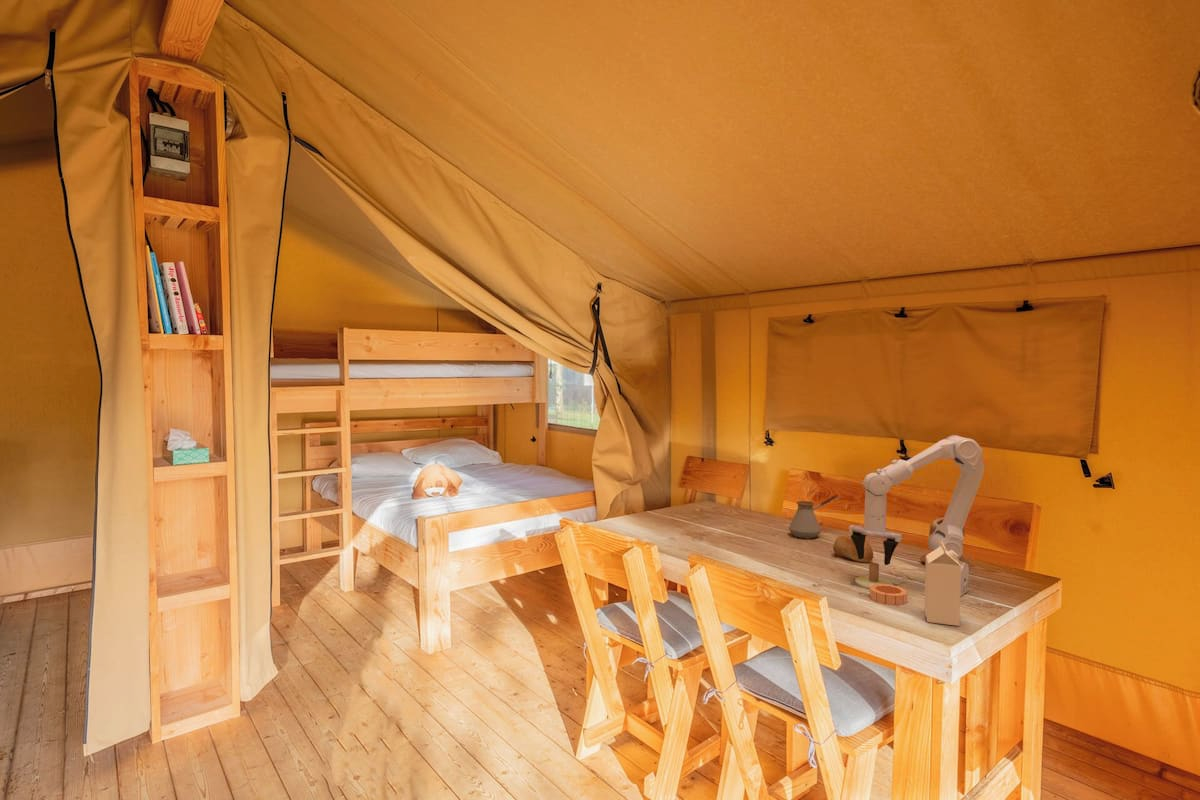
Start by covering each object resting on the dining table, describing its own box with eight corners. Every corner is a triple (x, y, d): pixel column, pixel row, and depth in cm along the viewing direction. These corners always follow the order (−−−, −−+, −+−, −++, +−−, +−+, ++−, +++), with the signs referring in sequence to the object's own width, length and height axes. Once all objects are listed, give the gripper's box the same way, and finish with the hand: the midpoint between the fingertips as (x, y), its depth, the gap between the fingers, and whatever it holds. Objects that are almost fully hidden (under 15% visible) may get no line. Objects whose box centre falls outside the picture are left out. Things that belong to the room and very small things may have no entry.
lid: (898, 584, 191) (898, 564, 190) (883, 592, 184) (883, 571, 183) (864, 576, 198) (864, 557, 198) (849, 584, 191) (849, 563, 191)
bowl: (912, 600, 179) (912, 589, 178) (898, 609, 172) (898, 597, 172) (878, 592, 185) (878, 581, 185) (863, 600, 179) (864, 589, 179)
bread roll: (858, 567, 209) (858, 542, 209) (824, 554, 223) (825, 531, 223) (880, 563, 213) (881, 539, 213) (846, 551, 227) (847, 529, 227)
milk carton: (927, 622, 163) (929, 547, 162) (924, 612, 170) (926, 540, 169) (959, 626, 161) (961, 550, 160) (955, 616, 167) (957, 542, 166)
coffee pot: (801, 541, 240) (802, 500, 240) (782, 534, 251) (783, 495, 250) (848, 536, 248) (849, 497, 247) (828, 529, 258) (829, 491, 258)
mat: (898, 586, 191) (898, 584, 191) (883, 594, 184) (883, 592, 184) (864, 578, 198) (864, 576, 198) (849, 585, 191) (849, 584, 191)
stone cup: (944, 572, 204) (945, 524, 203) (914, 562, 215) (915, 516, 214) (980, 568, 209) (982, 521, 208) (949, 557, 220) (950, 513, 219)
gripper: (844, 512, 192) (843, 558, 193) (894, 521, 182) (893, 569, 182) (855, 509, 197) (854, 554, 198) (905, 517, 187) (903, 564, 187)
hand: (873, 561), depth 190 cm, fingers open, 7 cm apart
